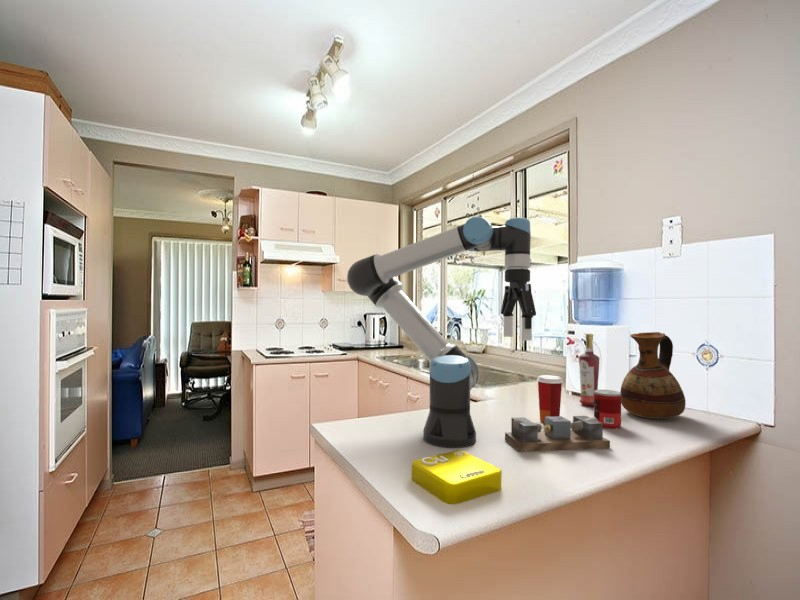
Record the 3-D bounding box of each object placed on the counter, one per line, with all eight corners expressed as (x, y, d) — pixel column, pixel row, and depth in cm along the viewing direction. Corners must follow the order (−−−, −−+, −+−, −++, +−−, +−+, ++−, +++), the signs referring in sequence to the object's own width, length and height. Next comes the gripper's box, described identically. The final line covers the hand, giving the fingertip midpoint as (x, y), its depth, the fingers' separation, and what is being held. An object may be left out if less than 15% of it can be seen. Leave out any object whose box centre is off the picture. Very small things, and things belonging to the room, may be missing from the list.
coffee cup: (561, 419, 141) (561, 375, 141) (564, 426, 133) (564, 379, 133) (535, 417, 143) (535, 374, 144) (536, 424, 135) (537, 378, 136)
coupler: (563, 433, 119) (563, 416, 119) (573, 439, 114) (573, 421, 114) (542, 434, 118) (542, 416, 118) (550, 439, 113) (550, 421, 113)
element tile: (449, 508, 79) (450, 483, 80) (407, 479, 92) (408, 458, 92) (505, 490, 87) (505, 468, 87) (460, 466, 100) (460, 446, 100)
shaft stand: (519, 451, 110) (519, 424, 110) (505, 439, 119) (505, 414, 120) (609, 448, 113) (610, 421, 113) (588, 436, 123) (588, 412, 123)
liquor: (603, 406, 160) (603, 334, 161) (591, 408, 157) (591, 334, 157) (586, 402, 167) (587, 333, 167) (574, 404, 163) (575, 333, 163)
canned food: (626, 427, 133) (626, 393, 133) (608, 430, 130) (608, 395, 130) (606, 421, 140) (606, 388, 140) (588, 423, 137) (588, 390, 137)
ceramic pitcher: (608, 412, 152) (608, 330, 152) (641, 406, 161) (641, 329, 161) (663, 426, 134) (663, 334, 135) (697, 418, 144) (697, 332, 144)
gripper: (548, 265, 115) (548, 342, 115) (512, 272, 140) (512, 335, 139) (523, 265, 114) (522, 342, 114) (491, 272, 139) (490, 335, 138)
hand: (516, 338), depth 126 cm, fingers open, 13 cm apart
